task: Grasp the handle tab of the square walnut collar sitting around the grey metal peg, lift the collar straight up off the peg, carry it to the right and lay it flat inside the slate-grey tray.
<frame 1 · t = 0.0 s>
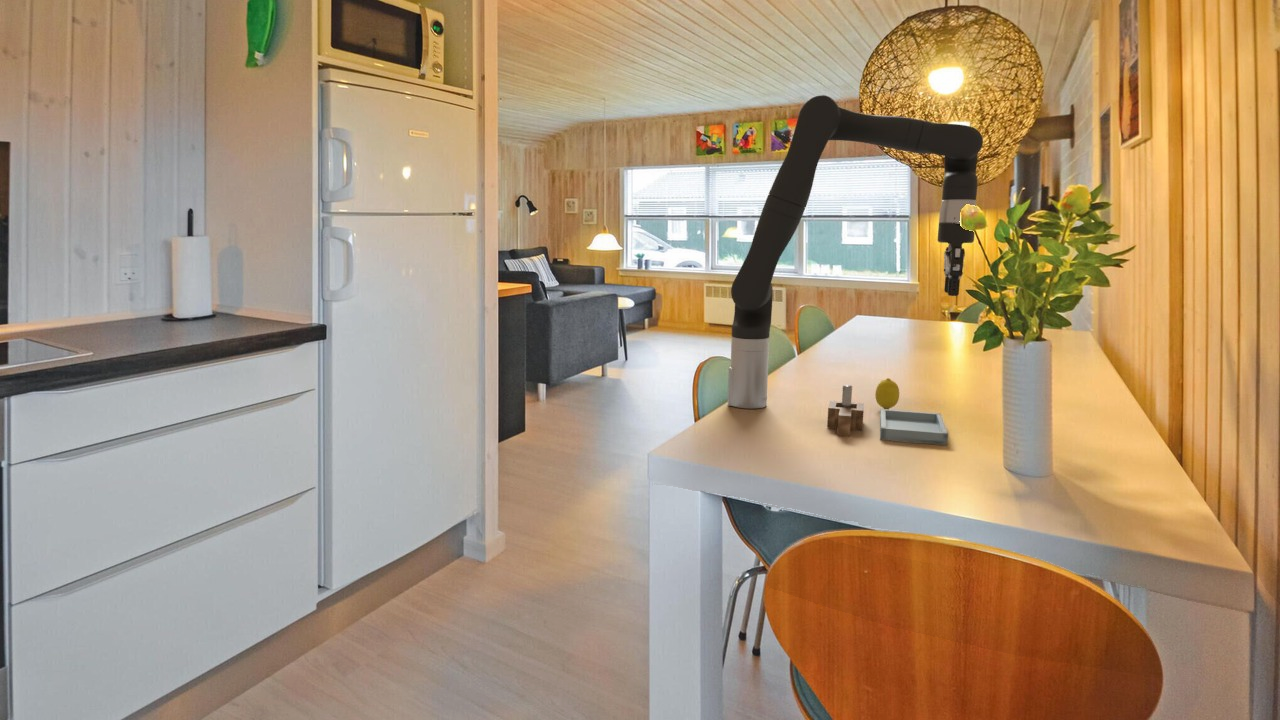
hand: (951, 294, 167), 29 cm above the table, tool pointing down, fingers open, 8 cm apart
collar: (845, 425, 167), on the table
lemon: (886, 411, 181), on the table
peg: (845, 424, 167), on the table
tray: (911, 431, 161), on the table
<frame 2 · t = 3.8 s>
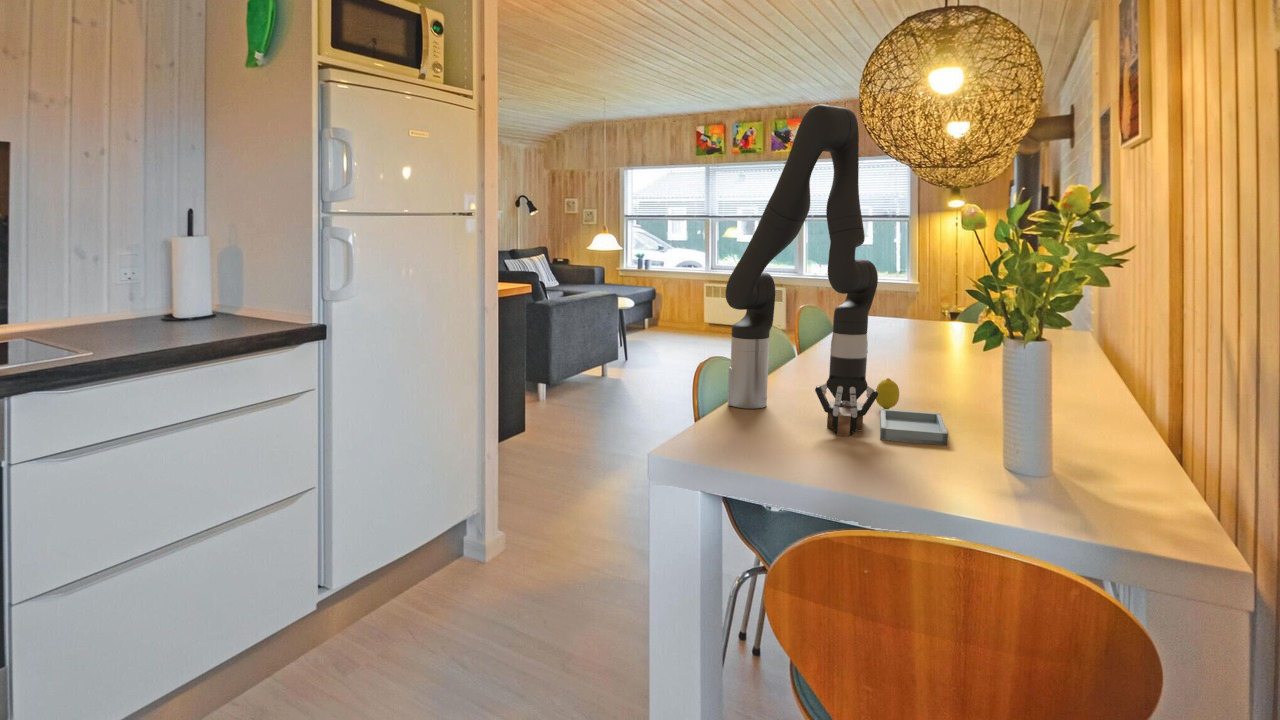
hand: (844, 432, 160), 0 cm above the table, tool pointing down, fingers closed on collar, 2 cm apart
collar: (845, 425, 167), on the table, touching gripper
everything else where it was.
when the fingers open (3 cm above the table, at t = 8.3 s): collar stays where it is, resting on tray.
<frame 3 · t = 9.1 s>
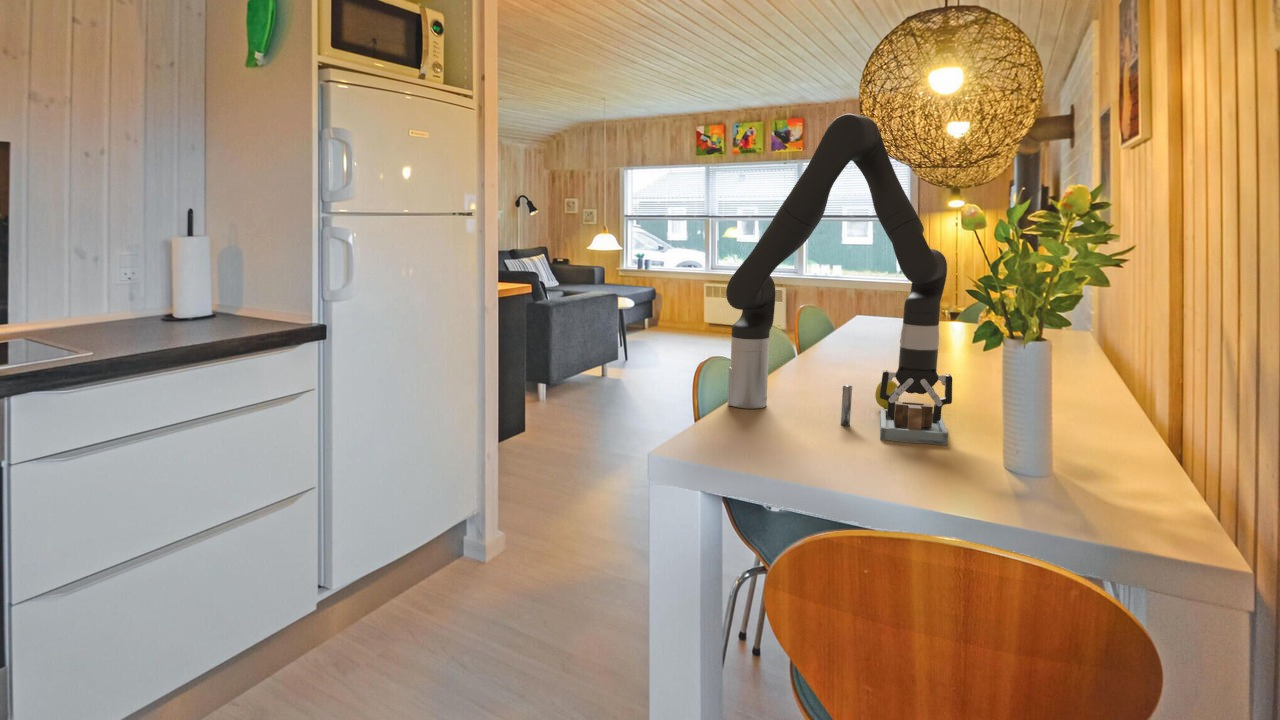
hand: (913, 420, 157), 3 cm above the table, tool pointing down, fingers open, 8 cm apart
collar: (911, 424, 163), point 1 cm above the table, tilted 7°, touching tray
everything else where it was.
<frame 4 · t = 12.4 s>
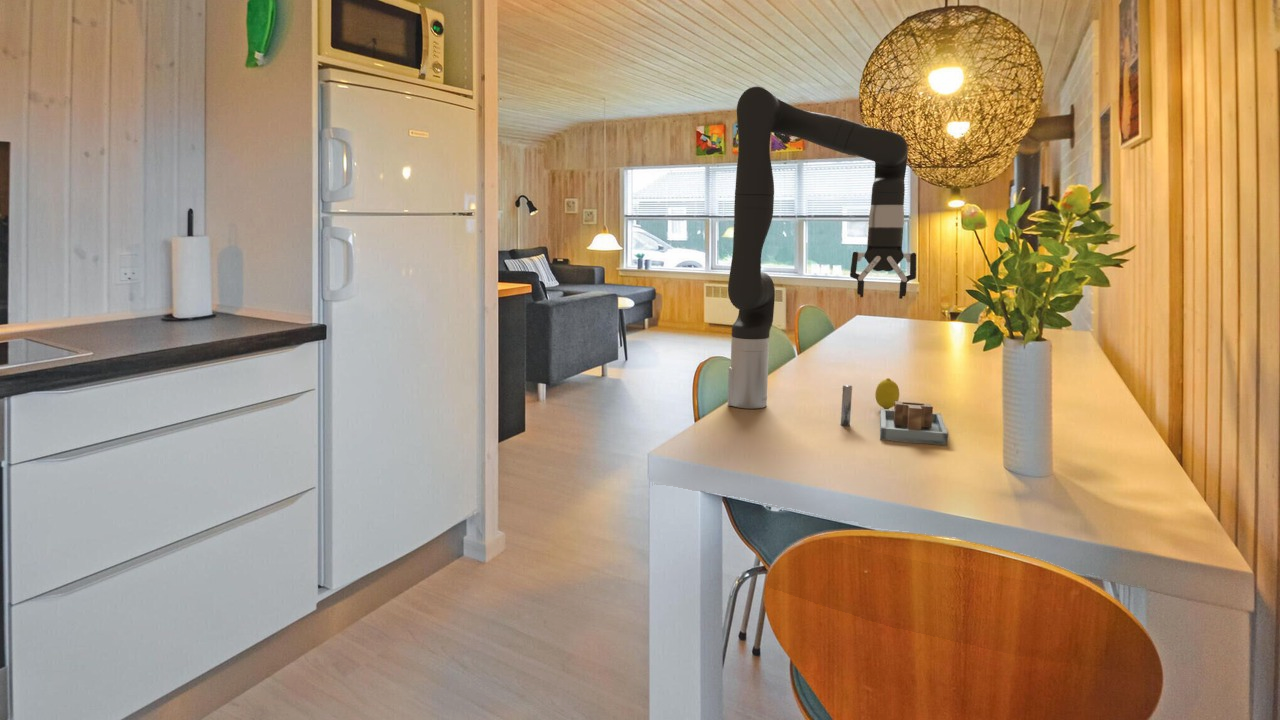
hand: (881, 297, 169), 28 cm above the table, tool pointing down, fingers open, 8 cm apart
nothing on the table moved.
at the end: collar inside the target area on the tray (0.4 cm from its centre), point 1.3 cm above the tray's base; collar tilted 7°; the gripper is holding nothing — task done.
